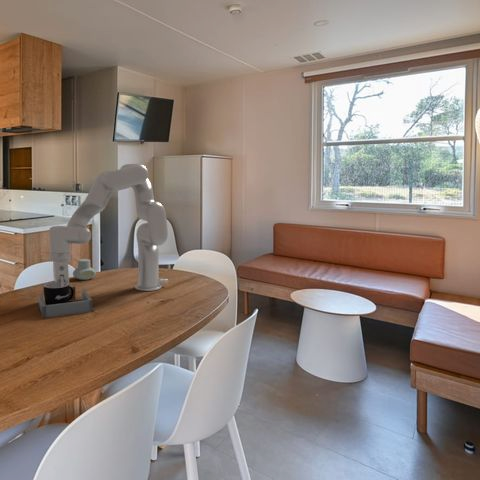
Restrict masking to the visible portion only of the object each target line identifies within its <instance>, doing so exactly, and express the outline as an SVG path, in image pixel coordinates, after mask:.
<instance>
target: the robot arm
mask: <svg viewBox="0 0 480 480" xmlns="http://www.w3.org/2000/svg"><path fill="white" fill-rule="evenodd" d="M129 188H132V190H133V192H134V198H135V206H136V207H135V208H136V214H137V217H138V218H139V219H140V220H141V221H146V222H144V223H142V224H140V225H139V226H138V228H137V230H136V233H135V234H136V241H137V248H138V249H137V252H138V253H137V256H138V257H137V259H138V260H137V261H138V262H137V263H138V265H137V268H138V271H137V272H138V283H137V284H135V285H134V289H135V290H137V291H141V292H154V291H158V290H160V289H161V288H162V287H163V286H162V284H167V283H169V279H168V278H160V277H159V263H160V262H159V259H160V258H159V256H160V255H159V254H160V253H159V246H162V245H164V244H165V243H166V241H167V240H168V236H169V234H168V232H169V231H168V218H167V213H166V209H165V206H164V205H163V204H161V203H160V202H159V201H157V200H156V201H155V195H154V189H153V186H152V183H151V181H150V179H149V170H148V168H147V167H146V166H145V165H144V164H141V163H125V164H123V165H122V166H120V168H119V169H114V170H104V171H101V172H100V173H99V174H98V175H97V177H96V179H95V180H94V183H93V185H92V186H91V188H90V190H89V192H88V194H87V195H86V197H85V199H84V200H83V202H81V204H80V205H79V206H78V207H77V208H76V210H75V211H74V212H73V214H72V215H71V217H70V219H69V221H68V223H67V225H64V226H63V225H55V226H51V227H50V228H49V230H48V236H49V238H48V239H49V240H48V241H49V261H50V262H52V263H53V264H52V266H53V267H52V268H53V271H52V272H53V282H57V283H58V282H61V287H64V283H63V282H67V283H69V284H70V275H69V274H70V273H69V261H70V260H71V244H75V245H76V244H77V245H84V244H87V243H88V242H90V240H91V239H92V232H91V230H90V229H89V228H88V227H87V225H88V224H89V223H90V221H91V220H92V218H94V217H95V216H96V215H98V214H101V212H103V211H104V210H105V208H106V206H107V205H108V202H109V201H110V199H111V197H112V195H113V193H114V192H118V191H119V192H120V191H122V190H126V189H129Z"/></svg>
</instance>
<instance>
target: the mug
mask: <svg viewBox="0 0 480 480" xmlns="http://www.w3.org/2000/svg"><path fill="white" fill-rule="evenodd" d="M63 283H64V287H61V282H58V283H57V282H55V281H53V282H52V281H51V282H47V283H44V284H43V295H44V297H43V299H44V302H45V305H53V304H61V303H69V302H71V301H72V300H71V299H72V297H73V295H74V290H73V288H72V287H70V286H69V285H70V282H69V283H67V282H63ZM69 288H70V289H71V296H70V298H69ZM68 298H69V299H68Z"/></svg>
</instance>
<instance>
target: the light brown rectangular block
mask: <svg viewBox="0 0 480 480" xmlns="http://www.w3.org/2000/svg"><path fill="white" fill-rule="evenodd" d="M69 286H70V287H72V288H73V290H74V295H73V297H72V299H71V300H70V301H73V300H76V299H77V298H76V286H75V284H69ZM70 296H71V289H70V288H69V298H70ZM69 298H68V299H69Z"/></svg>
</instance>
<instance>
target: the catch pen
mask: <svg viewBox="0 0 480 480" xmlns="http://www.w3.org/2000/svg"><path fill="white" fill-rule="evenodd" d="M80 292H81V293H80V296H81V300H78V301H68V303H61V304H53V305H46V303H45V298H44V297H43V294H42V293H39V294H38V307H39V310H40V313H41V316H42V319H48V318H57V317H64V316H70V315H78V314H86V313H92V312H94V311H93V308H94V307H93V299H92V298H91V296H90V295H89V294H88V292H87V291H86V290H85V289H81V291H80Z"/></svg>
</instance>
